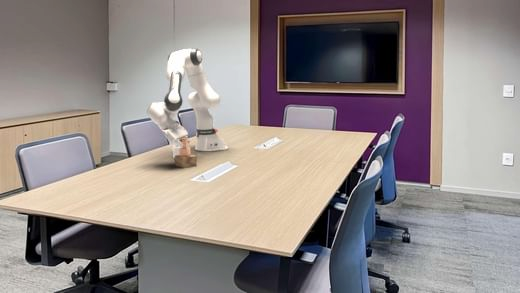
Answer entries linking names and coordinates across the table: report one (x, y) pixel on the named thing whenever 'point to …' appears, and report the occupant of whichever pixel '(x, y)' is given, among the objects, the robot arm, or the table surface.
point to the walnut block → (185, 161)
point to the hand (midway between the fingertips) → (186, 144)
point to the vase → (185, 148)
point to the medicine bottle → (176, 149)
